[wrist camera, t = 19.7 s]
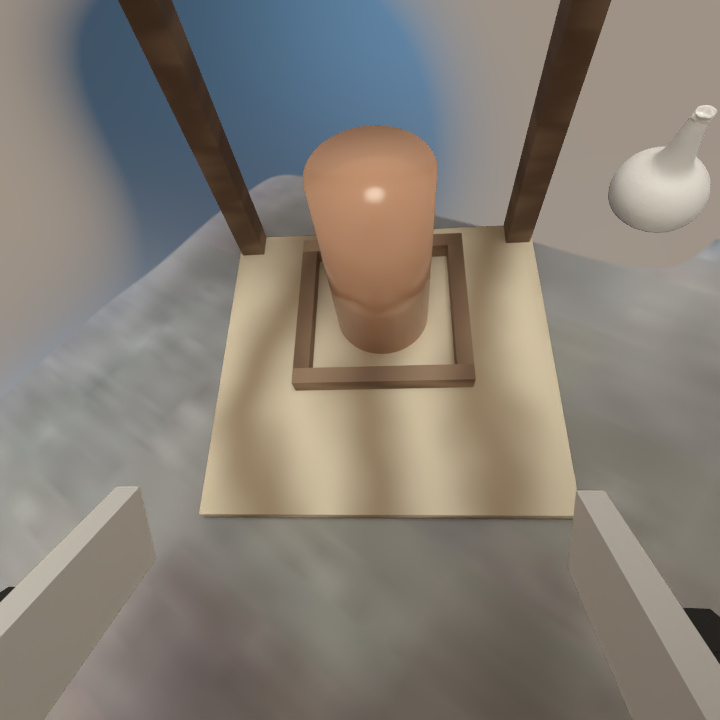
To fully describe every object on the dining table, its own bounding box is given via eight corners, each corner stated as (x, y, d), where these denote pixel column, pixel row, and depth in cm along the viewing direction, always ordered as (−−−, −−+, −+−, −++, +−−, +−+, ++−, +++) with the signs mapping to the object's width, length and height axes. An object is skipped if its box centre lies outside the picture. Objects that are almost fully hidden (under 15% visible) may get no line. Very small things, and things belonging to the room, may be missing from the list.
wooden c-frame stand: (526, 233, 35) (674, -228, 15) (575, 518, 26) (1070, 286, 7) (247, 247, 37) (62, -149, 17) (205, 516, 28) (-266, 333, 9)
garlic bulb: (626, 169, 38) (664, 66, 31) (712, 195, 35) (775, 89, 28) (588, 220, 36) (620, 122, 29) (675, 252, 33) (734, 153, 26)
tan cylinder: (425, 275, 33) (434, 121, 22) (429, 352, 30) (441, 219, 20) (339, 278, 34) (307, 129, 23) (336, 355, 31) (298, 226, 20)
